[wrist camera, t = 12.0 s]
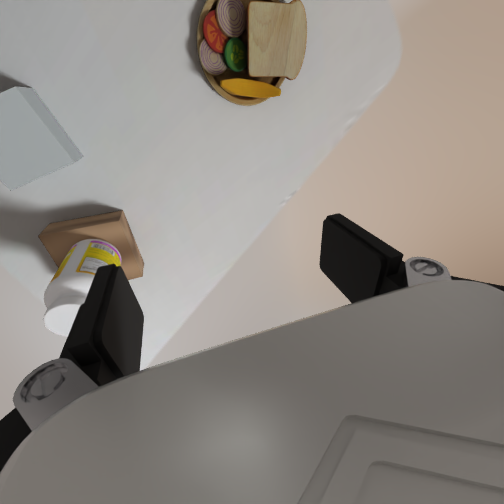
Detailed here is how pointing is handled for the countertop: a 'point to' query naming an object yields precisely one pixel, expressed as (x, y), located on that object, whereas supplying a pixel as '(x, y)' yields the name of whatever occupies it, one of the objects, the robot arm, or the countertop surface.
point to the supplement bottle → (75, 282)
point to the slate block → (30, 139)
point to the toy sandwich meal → (251, 47)
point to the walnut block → (95, 227)
